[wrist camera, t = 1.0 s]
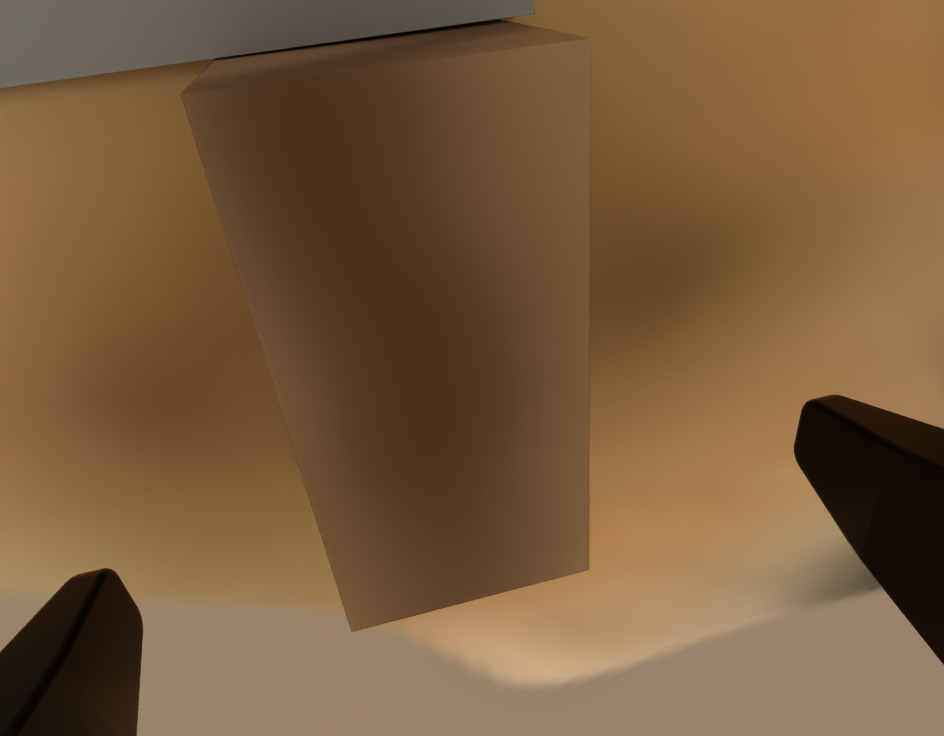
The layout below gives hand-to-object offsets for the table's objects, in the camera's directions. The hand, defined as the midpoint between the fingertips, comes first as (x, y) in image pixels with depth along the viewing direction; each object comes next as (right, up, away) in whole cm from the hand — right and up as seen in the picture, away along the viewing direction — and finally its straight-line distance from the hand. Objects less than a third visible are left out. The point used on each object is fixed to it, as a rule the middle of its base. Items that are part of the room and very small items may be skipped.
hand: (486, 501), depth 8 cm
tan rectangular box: (-2, +4, +6) cm, 8 cm away
